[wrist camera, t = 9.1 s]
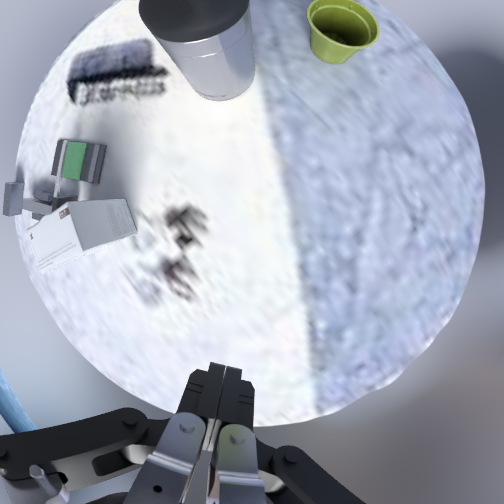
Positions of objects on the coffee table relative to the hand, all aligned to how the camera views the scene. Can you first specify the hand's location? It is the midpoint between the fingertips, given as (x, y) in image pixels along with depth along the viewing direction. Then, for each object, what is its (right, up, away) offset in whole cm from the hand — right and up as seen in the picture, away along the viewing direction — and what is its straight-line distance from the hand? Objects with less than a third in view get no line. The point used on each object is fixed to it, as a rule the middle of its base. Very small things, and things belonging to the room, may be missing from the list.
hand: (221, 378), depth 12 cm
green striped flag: (-33, +18, +25) cm, 45 cm away
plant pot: (+13, +36, +19) cm, 43 cm away
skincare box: (-20, +10, +26) cm, 35 cm away
